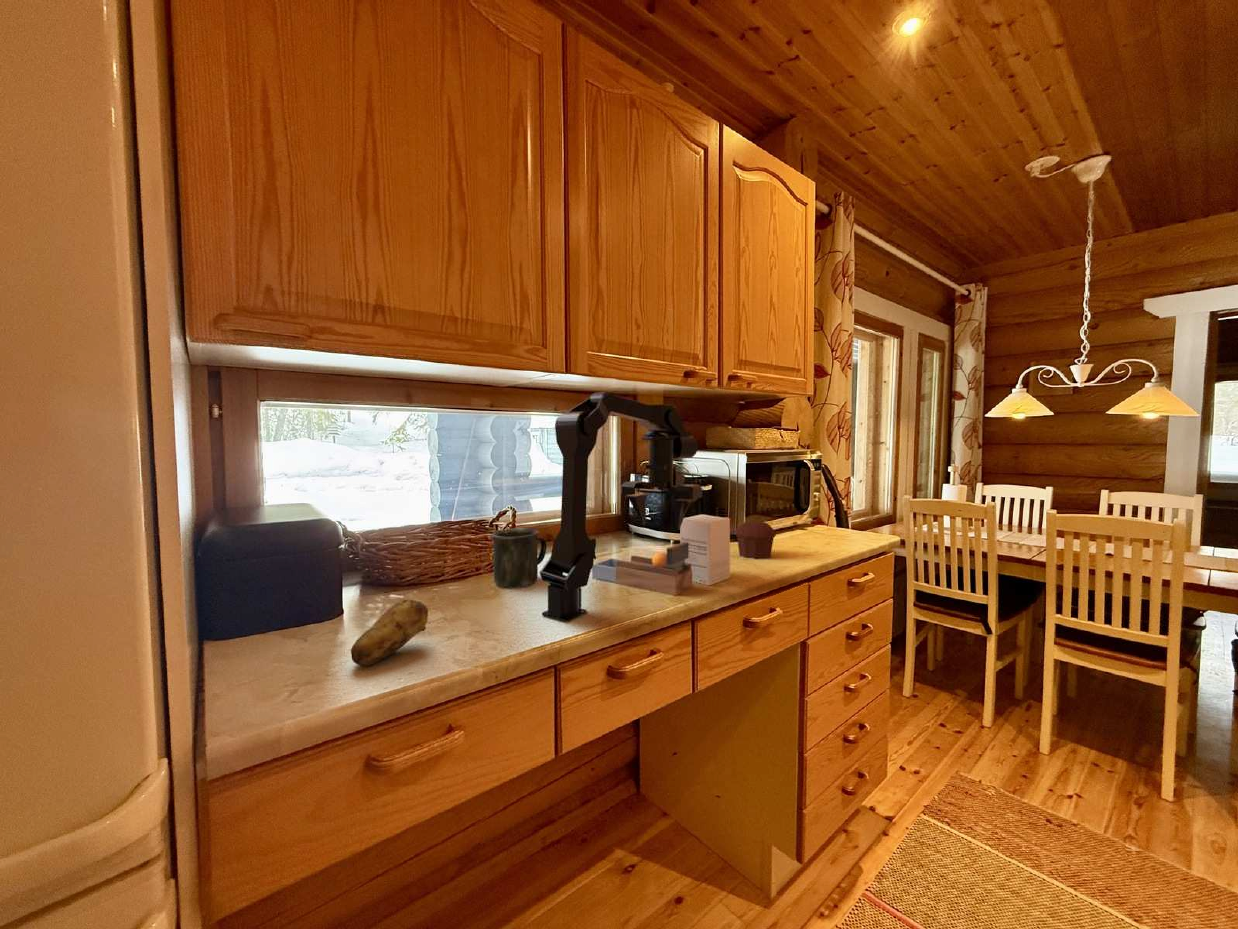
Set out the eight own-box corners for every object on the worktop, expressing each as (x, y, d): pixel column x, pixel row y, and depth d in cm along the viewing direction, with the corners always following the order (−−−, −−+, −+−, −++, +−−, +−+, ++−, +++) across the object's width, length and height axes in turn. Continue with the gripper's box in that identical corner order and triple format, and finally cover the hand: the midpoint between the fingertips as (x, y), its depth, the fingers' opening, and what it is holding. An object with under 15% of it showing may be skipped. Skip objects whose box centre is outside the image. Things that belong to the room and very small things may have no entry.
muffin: (726, 554, 153) (726, 520, 152) (749, 549, 160) (750, 516, 159) (761, 562, 144) (761, 526, 143) (783, 556, 151) (784, 521, 150)
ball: (664, 572, 118) (664, 555, 118) (648, 570, 121) (648, 552, 120) (672, 568, 122) (672, 551, 121) (657, 566, 124) (657, 549, 124)
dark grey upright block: (671, 575, 115) (671, 548, 115) (661, 574, 116) (661, 547, 116) (688, 568, 122) (688, 542, 121) (678, 566, 123) (679, 541, 123)
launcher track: (675, 595, 115) (675, 572, 114) (615, 583, 124) (615, 561, 124) (691, 586, 121) (692, 564, 121) (634, 575, 130) (634, 555, 130)
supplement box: (700, 571, 134) (701, 513, 133) (730, 578, 128) (731, 517, 127) (678, 578, 128) (679, 518, 127) (709, 586, 122) (710, 522, 121)
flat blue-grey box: (618, 583, 124) (618, 569, 123) (592, 578, 128) (592, 564, 128) (635, 576, 130) (635, 562, 130) (610, 571, 134) (610, 558, 134)
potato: (338, 658, 83) (337, 609, 82) (418, 636, 92) (417, 591, 92) (357, 676, 77) (355, 623, 77) (440, 650, 86) (439, 602, 86)
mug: (482, 582, 125) (482, 532, 124) (531, 570, 135) (531, 524, 135) (510, 592, 117) (509, 539, 117) (559, 578, 128) (559, 530, 127)
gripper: (712, 459, 122) (711, 525, 123) (643, 457, 133) (643, 518, 134) (691, 461, 113) (691, 533, 114) (619, 459, 123) (619, 524, 124)
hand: (660, 526), depth 122 cm, fingers open, 9 cm apart
